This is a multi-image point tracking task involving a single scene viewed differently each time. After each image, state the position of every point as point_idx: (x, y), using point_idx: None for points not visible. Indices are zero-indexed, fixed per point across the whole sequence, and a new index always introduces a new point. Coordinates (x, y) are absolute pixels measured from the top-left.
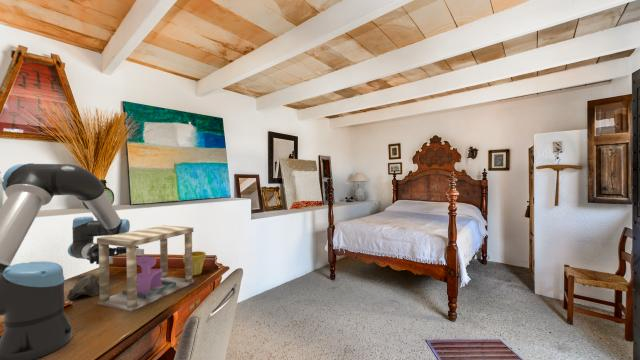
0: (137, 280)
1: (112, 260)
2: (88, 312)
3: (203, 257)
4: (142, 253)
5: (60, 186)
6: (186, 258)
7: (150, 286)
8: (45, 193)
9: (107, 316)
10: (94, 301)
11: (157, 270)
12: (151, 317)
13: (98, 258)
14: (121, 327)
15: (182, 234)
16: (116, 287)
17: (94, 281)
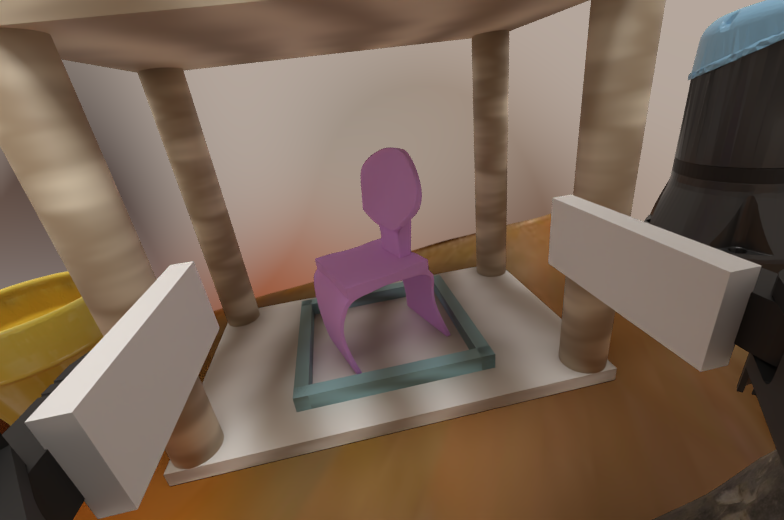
0: (432, 282)
1: (553, 235)
2: (638, 330)
3: (68, 288)
4: (212, 310)
5: None
6: (227, 213)
7: (358, 363)
8: None
9: (562, 279)
10: (644, 425)
11: (339, 255)
12: (467, 238)
13: (763, 273)
14: (532, 236)
15: (228, 64)
16: None
17: (725, 500)
